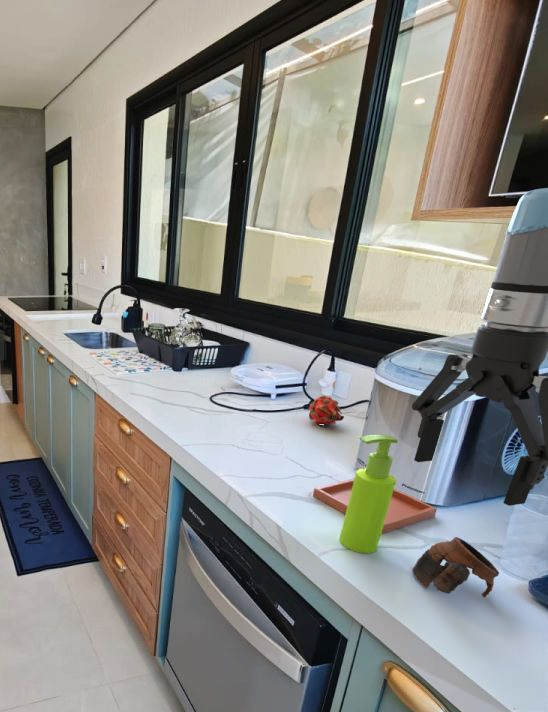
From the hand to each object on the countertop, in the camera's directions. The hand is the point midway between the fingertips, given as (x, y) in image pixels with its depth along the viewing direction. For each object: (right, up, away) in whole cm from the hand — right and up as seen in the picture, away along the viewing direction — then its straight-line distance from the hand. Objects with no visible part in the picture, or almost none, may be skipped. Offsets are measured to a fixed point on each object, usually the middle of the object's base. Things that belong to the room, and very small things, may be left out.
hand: (464, 480), depth 70 cm
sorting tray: (+3, -8, +30) cm, 31 cm away
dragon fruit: (+14, +10, +75) cm, 77 cm away
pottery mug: (+2, -17, +7) cm, 18 cm away
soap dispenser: (-7, -13, +17) cm, 22 cm away
